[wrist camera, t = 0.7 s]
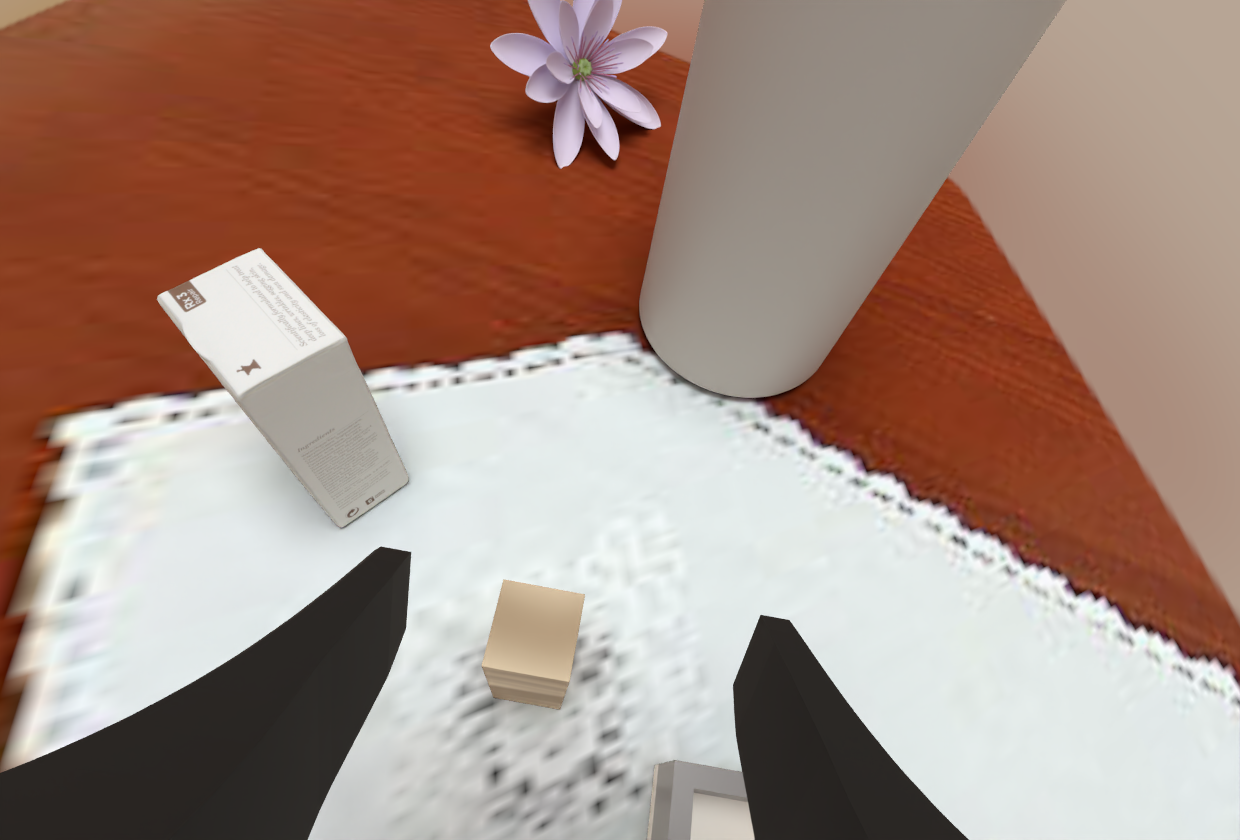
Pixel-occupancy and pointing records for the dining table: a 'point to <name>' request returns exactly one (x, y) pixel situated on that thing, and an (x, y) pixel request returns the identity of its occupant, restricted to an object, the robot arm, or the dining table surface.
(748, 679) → the robot arm
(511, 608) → the tan wooden block
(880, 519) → the dining table surface
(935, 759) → the dining table surface
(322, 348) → the skincare box
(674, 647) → the dining table surface
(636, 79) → the dining table surface
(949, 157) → the cylinder vase
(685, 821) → the switch box
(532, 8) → the water lily
